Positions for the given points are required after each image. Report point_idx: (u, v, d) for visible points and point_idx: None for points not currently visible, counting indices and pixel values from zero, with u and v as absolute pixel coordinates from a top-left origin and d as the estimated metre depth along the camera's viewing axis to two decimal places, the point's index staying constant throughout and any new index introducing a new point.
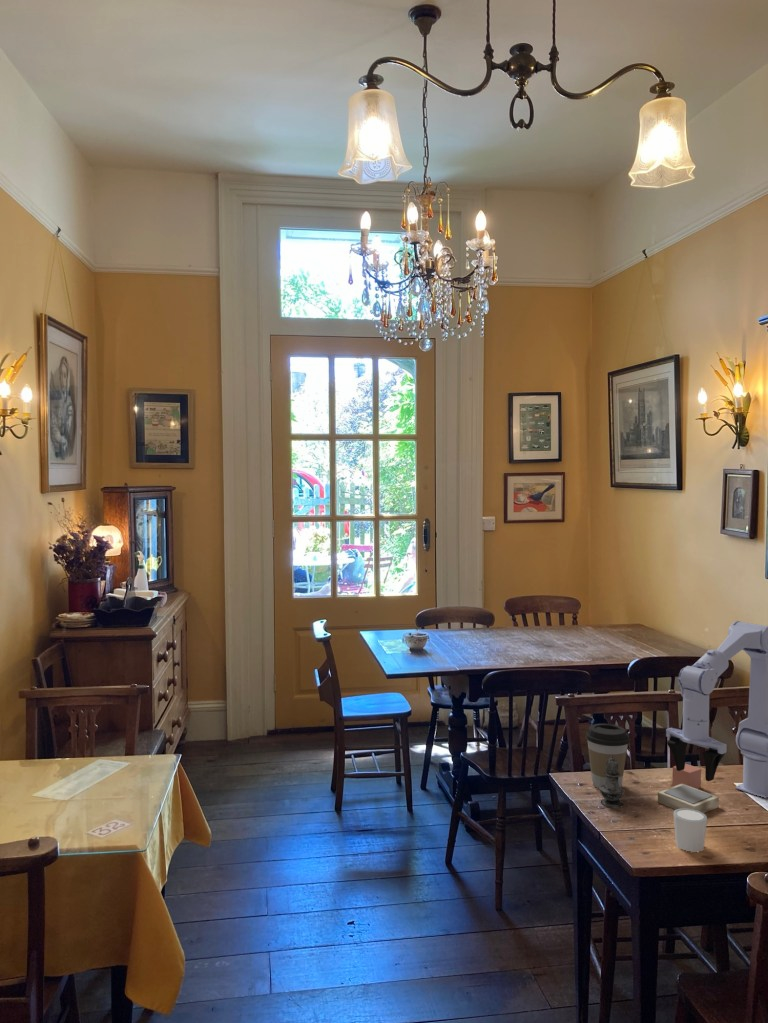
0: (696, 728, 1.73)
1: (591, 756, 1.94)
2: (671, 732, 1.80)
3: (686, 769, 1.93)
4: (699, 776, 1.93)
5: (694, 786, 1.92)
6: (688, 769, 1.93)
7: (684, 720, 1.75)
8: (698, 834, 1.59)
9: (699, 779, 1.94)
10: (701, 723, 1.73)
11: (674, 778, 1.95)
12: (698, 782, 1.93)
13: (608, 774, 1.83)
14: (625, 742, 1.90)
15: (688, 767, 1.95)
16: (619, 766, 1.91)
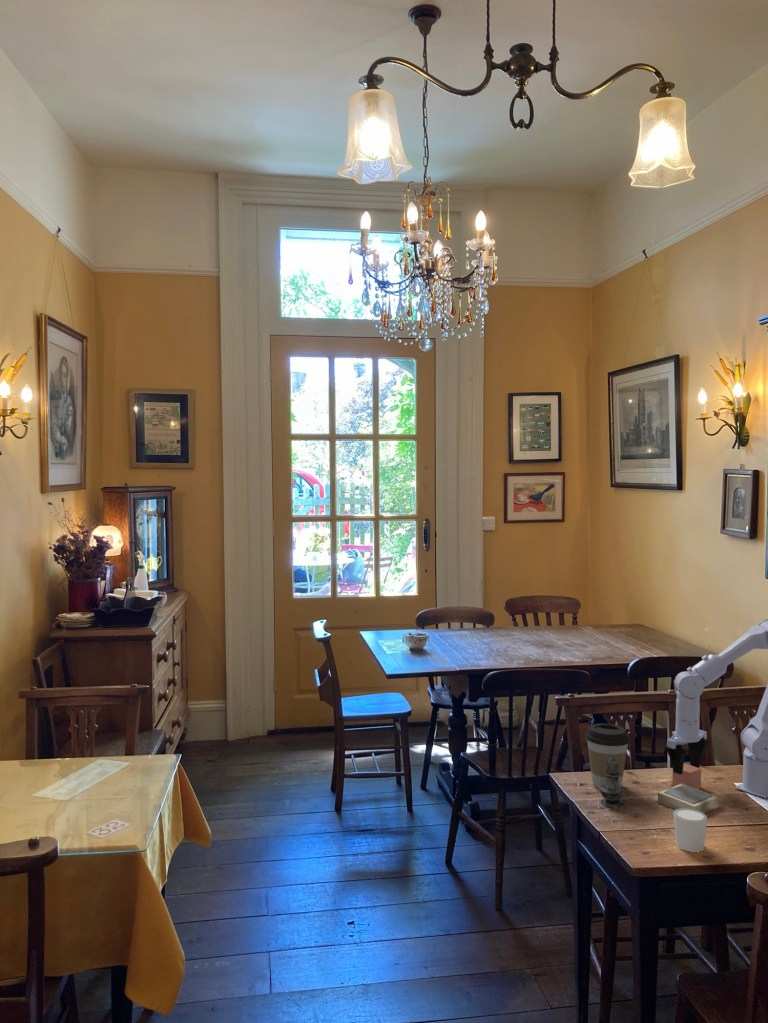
0: None
1: (591, 756, 1.94)
2: None
3: (686, 769, 1.93)
4: (699, 776, 1.93)
5: (694, 786, 1.92)
6: (688, 769, 1.93)
7: None
8: (698, 834, 1.59)
9: (699, 779, 1.94)
10: (676, 720, 1.94)
11: (674, 778, 1.95)
12: (698, 782, 1.93)
13: (608, 774, 1.83)
14: (625, 742, 1.90)
15: (688, 767, 1.95)
16: (619, 766, 1.91)
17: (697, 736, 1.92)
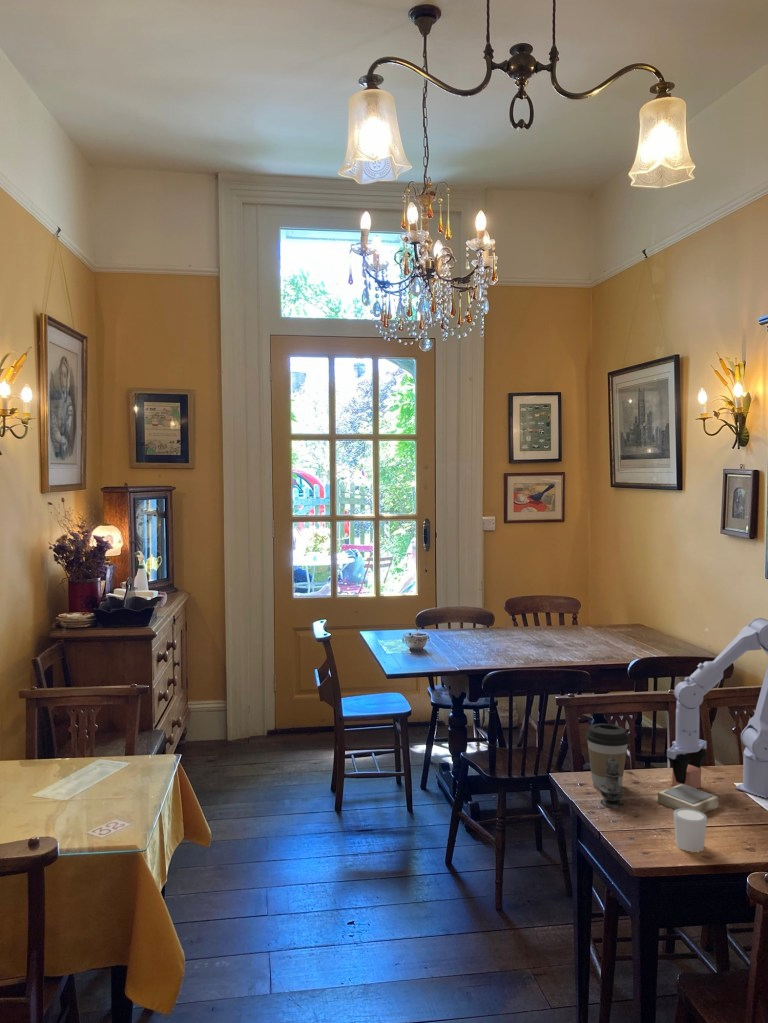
0: None
1: (591, 756, 1.94)
2: None
3: None
4: (699, 776, 1.93)
5: (694, 786, 1.92)
6: (688, 769, 1.93)
7: None
8: (698, 834, 1.59)
9: (699, 779, 1.94)
10: (676, 730, 1.94)
11: (674, 777, 1.95)
12: (698, 782, 1.93)
13: (608, 774, 1.83)
14: (625, 742, 1.90)
15: (688, 767, 1.95)
16: (619, 766, 1.91)
17: (697, 746, 1.92)
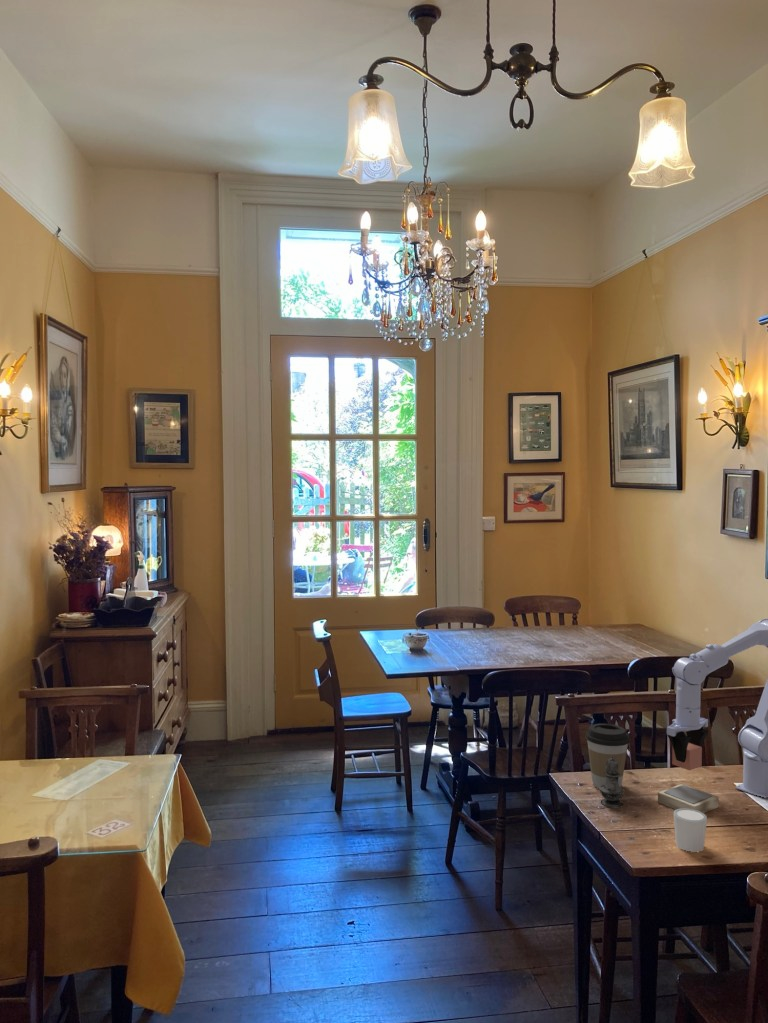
0: (676, 711, 1.90)
1: (591, 756, 1.94)
2: None
3: None
4: (700, 754, 1.89)
5: (694, 764, 1.88)
6: (688, 747, 1.88)
7: None
8: (698, 834, 1.59)
9: (700, 757, 1.89)
10: (677, 707, 1.89)
11: (674, 756, 1.90)
12: (698, 761, 1.88)
13: (608, 774, 1.83)
14: (625, 742, 1.90)
15: (688, 745, 1.90)
16: (619, 766, 1.91)
17: (698, 724, 1.87)
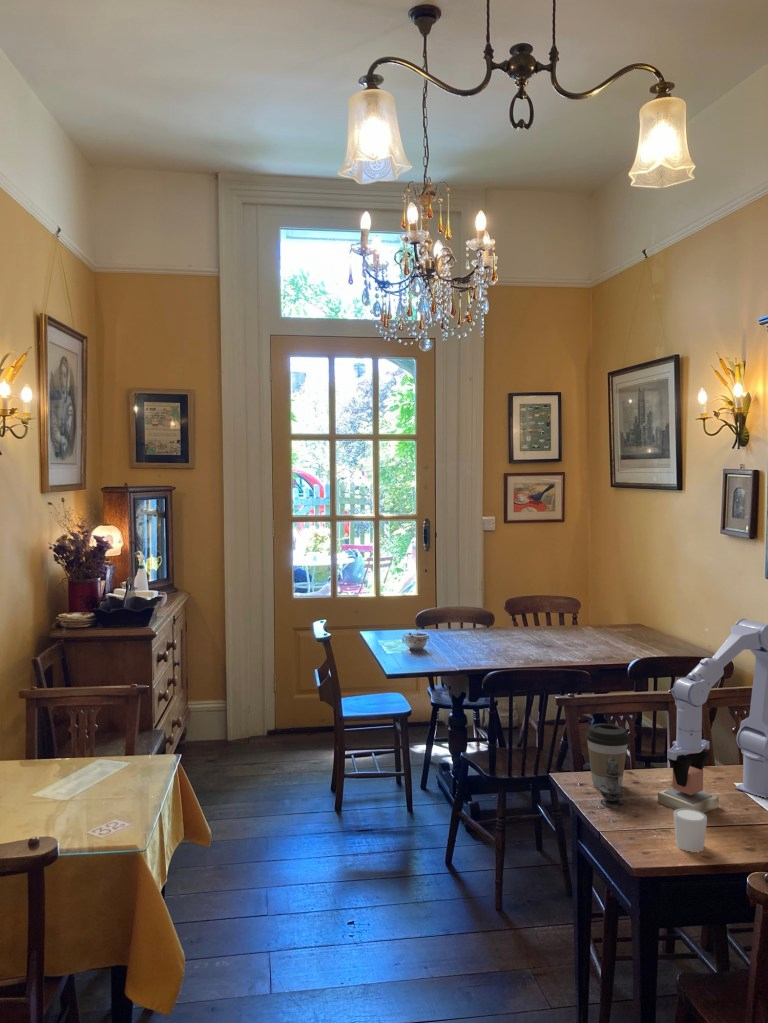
0: None
1: (591, 756, 1.94)
2: None
3: None
4: (701, 778, 1.82)
5: (696, 789, 1.81)
6: (689, 771, 1.82)
7: None
8: (698, 834, 1.59)
9: (701, 781, 1.82)
10: (677, 729, 1.83)
11: (674, 780, 1.83)
12: (700, 785, 1.82)
13: (608, 774, 1.83)
14: (625, 742, 1.90)
15: (689, 769, 1.83)
16: (619, 766, 1.91)
17: (699, 746, 1.81)
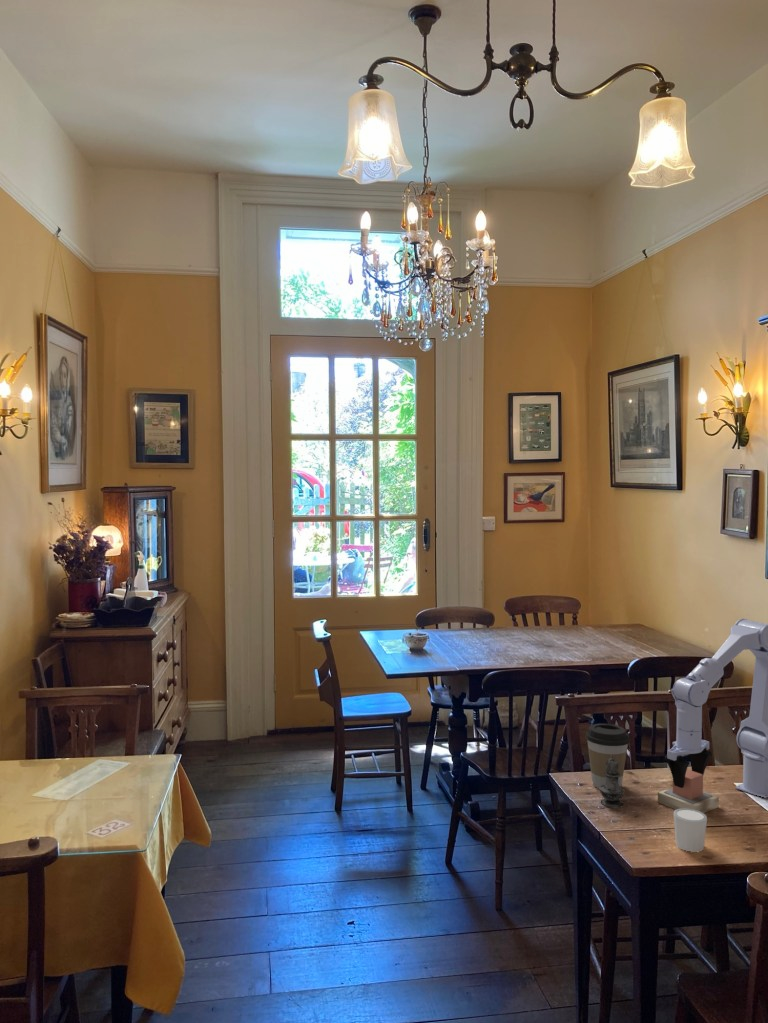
0: None
1: (591, 756, 1.94)
2: None
3: (687, 775, 1.82)
4: (701, 782, 1.82)
5: (696, 793, 1.81)
6: (689, 775, 1.82)
7: None
8: (698, 834, 1.59)
9: (701, 785, 1.82)
10: (677, 730, 1.83)
11: None
12: (700, 789, 1.82)
13: (608, 774, 1.83)
14: (625, 742, 1.90)
15: (689, 773, 1.83)
16: (619, 766, 1.91)
17: (699, 747, 1.81)
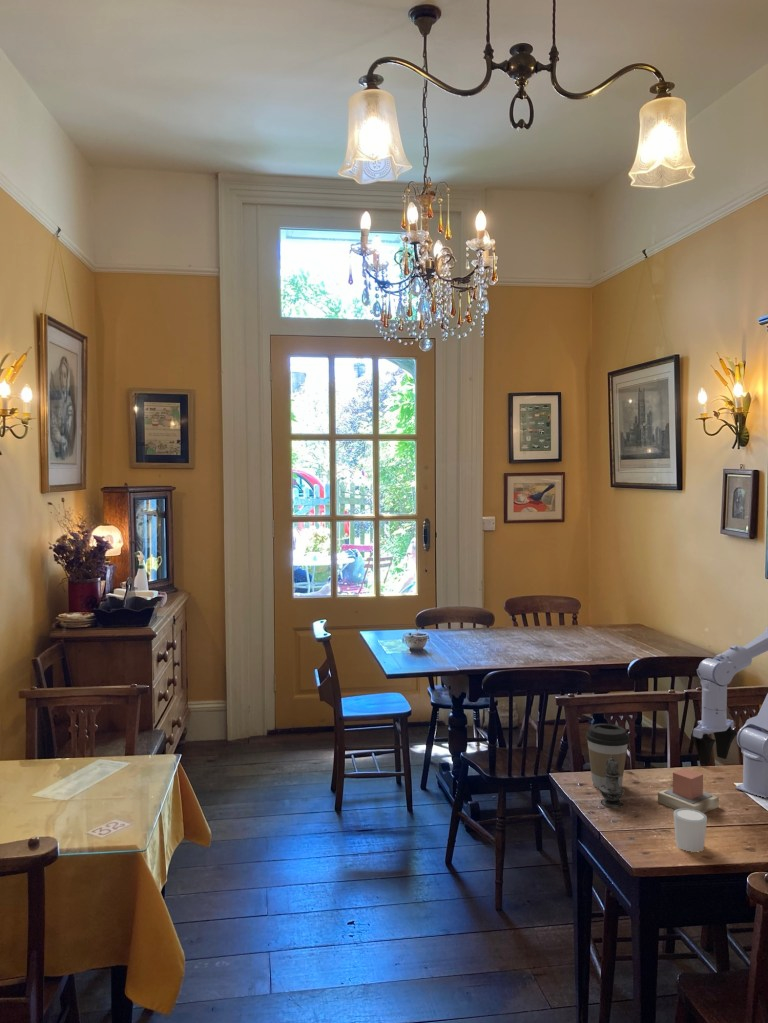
0: None
1: (591, 756, 1.94)
2: None
3: (687, 775, 1.82)
4: (701, 782, 1.82)
5: (696, 793, 1.81)
6: (689, 775, 1.82)
7: None
8: (698, 834, 1.59)
9: (701, 785, 1.82)
10: (703, 709, 1.87)
11: (674, 784, 1.83)
12: (700, 789, 1.82)
13: (608, 774, 1.83)
14: (625, 742, 1.90)
15: (689, 773, 1.83)
16: (619, 766, 1.91)
17: (724, 725, 1.85)
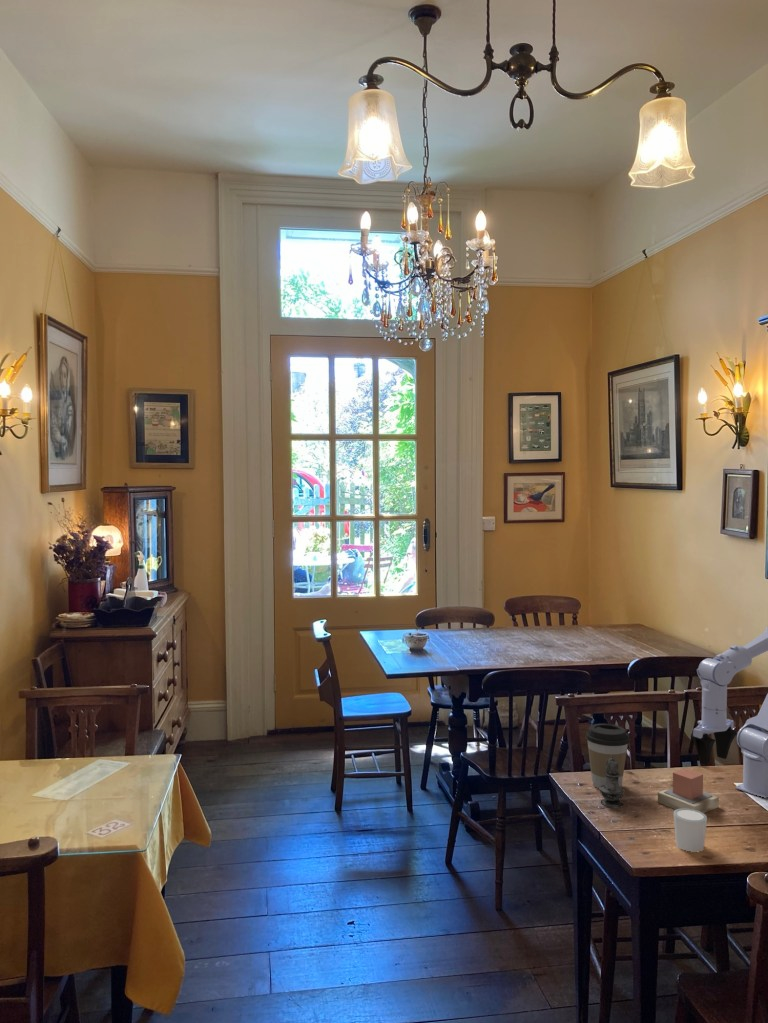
0: None
1: (591, 756, 1.94)
2: None
3: (687, 775, 1.82)
4: (701, 782, 1.82)
5: (696, 793, 1.81)
6: (689, 775, 1.82)
7: None
8: (698, 834, 1.59)
9: (701, 785, 1.82)
10: (703, 709, 1.87)
11: (674, 784, 1.83)
12: (700, 789, 1.82)
13: (608, 774, 1.83)
14: (625, 742, 1.90)
15: (689, 773, 1.83)
16: (619, 766, 1.91)
17: (724, 725, 1.85)
